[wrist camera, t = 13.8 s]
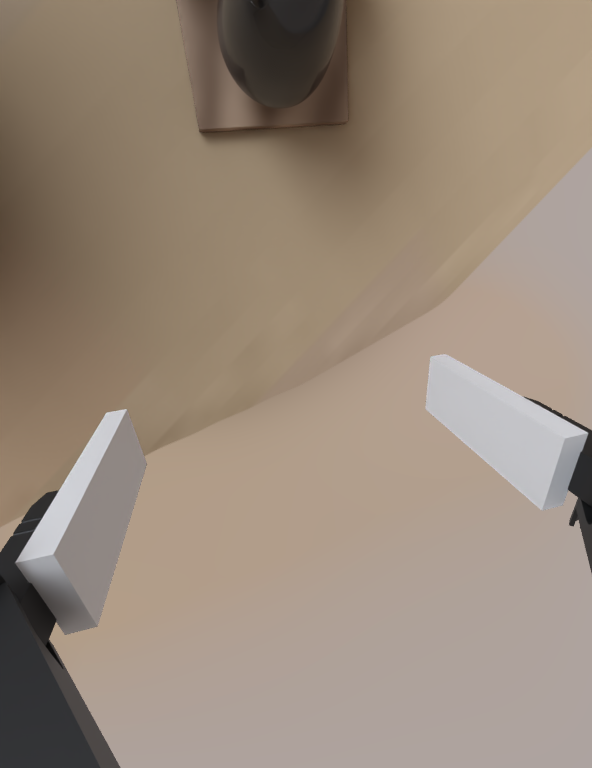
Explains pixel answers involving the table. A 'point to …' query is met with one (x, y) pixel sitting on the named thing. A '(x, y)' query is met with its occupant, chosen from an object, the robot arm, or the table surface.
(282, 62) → the pump dispenser
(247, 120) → the stand
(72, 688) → the robot arm
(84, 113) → the table surface
